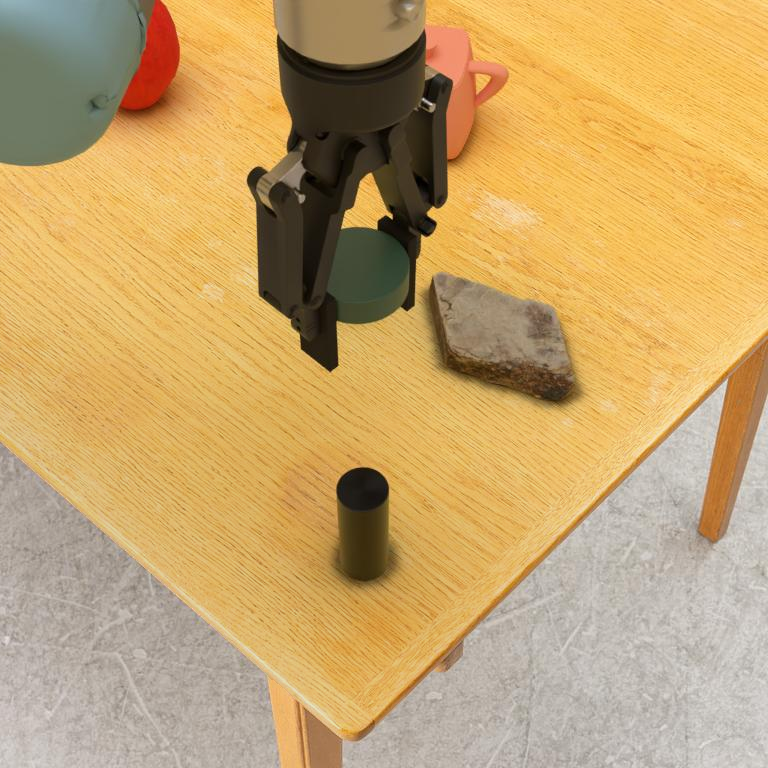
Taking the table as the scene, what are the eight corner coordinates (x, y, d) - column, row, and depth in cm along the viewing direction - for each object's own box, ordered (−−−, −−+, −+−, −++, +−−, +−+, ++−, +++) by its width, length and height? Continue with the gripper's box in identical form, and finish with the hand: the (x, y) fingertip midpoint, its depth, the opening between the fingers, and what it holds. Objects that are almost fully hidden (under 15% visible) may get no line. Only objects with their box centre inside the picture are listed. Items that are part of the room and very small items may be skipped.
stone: (594, 337, 101) (600, 314, 98) (566, 409, 96) (571, 387, 94) (432, 288, 104) (434, 264, 102) (398, 355, 99) (398, 332, 97)
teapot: (497, 174, 113) (506, 87, 105) (313, 154, 115) (308, 67, 106) (507, 98, 120) (517, 11, 112) (334, 81, 122) (331, -7, 113)
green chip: (311, 329, 71) (309, 307, 70) (302, 253, 75) (301, 230, 73) (415, 319, 72) (416, 298, 70) (401, 244, 76) (402, 222, 74)
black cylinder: (343, 584, 86) (339, 514, 78) (337, 542, 88) (333, 469, 81) (391, 579, 87) (392, 508, 79) (384, 536, 89) (385, 464, 81)
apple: (208, 100, 120) (193, -3, 110) (128, 144, 116) (105, 40, 106) (151, 55, 124) (132, -49, 114) (72, 95, 120) (45, -9, 110)
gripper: (257, 158, 52) (289, 448, 71) (534, -23, 61) (498, 278, 79) (151, 83, 56) (208, 379, 74) (428, -79, 64) (417, 223, 82)
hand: (358, 326), depth 77 cm, fingers closed on green chip, 6 cm apart
